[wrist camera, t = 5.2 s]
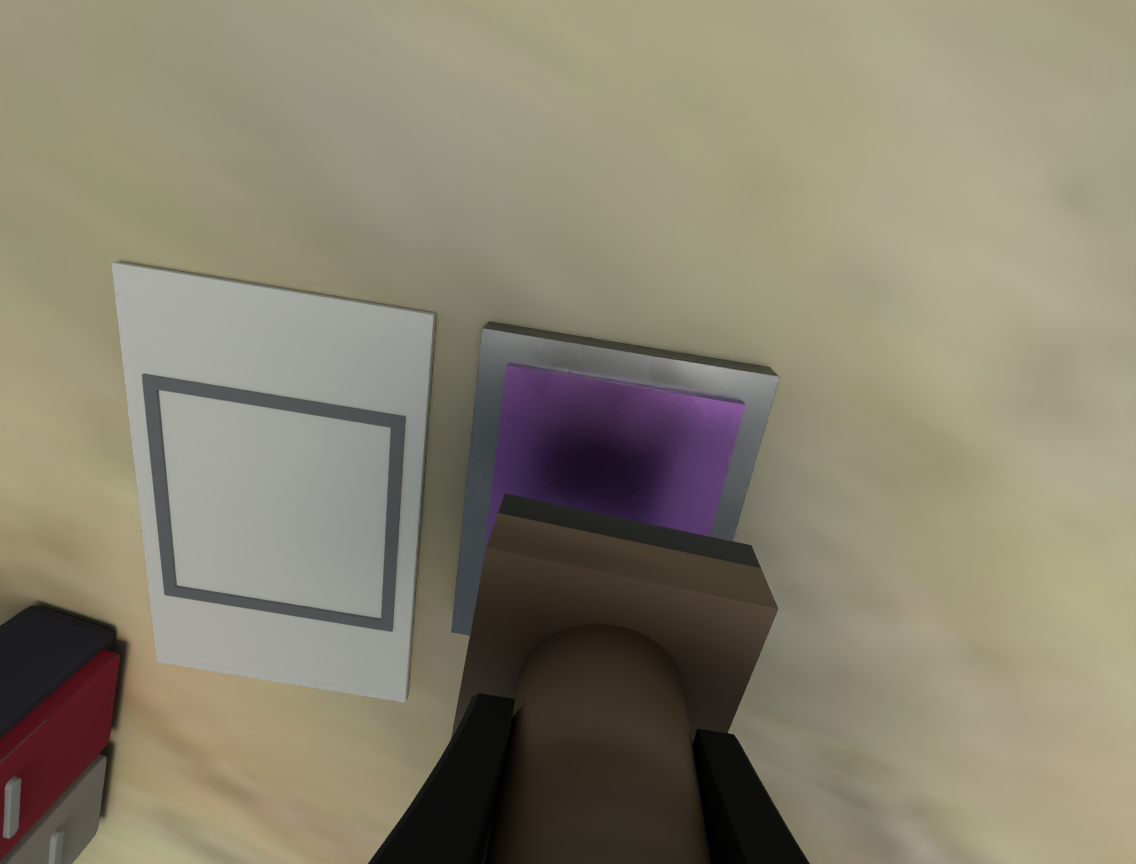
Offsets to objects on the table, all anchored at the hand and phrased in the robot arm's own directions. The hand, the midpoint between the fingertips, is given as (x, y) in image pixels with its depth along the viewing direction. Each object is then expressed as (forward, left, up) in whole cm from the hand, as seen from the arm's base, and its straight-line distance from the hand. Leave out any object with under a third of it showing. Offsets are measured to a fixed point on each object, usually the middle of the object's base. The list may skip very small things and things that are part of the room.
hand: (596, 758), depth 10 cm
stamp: (0, 0, -3) cm, 3 cm away
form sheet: (-2, +10, -9) cm, 14 cm away
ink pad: (0, 0, -9) cm, 9 cm away
